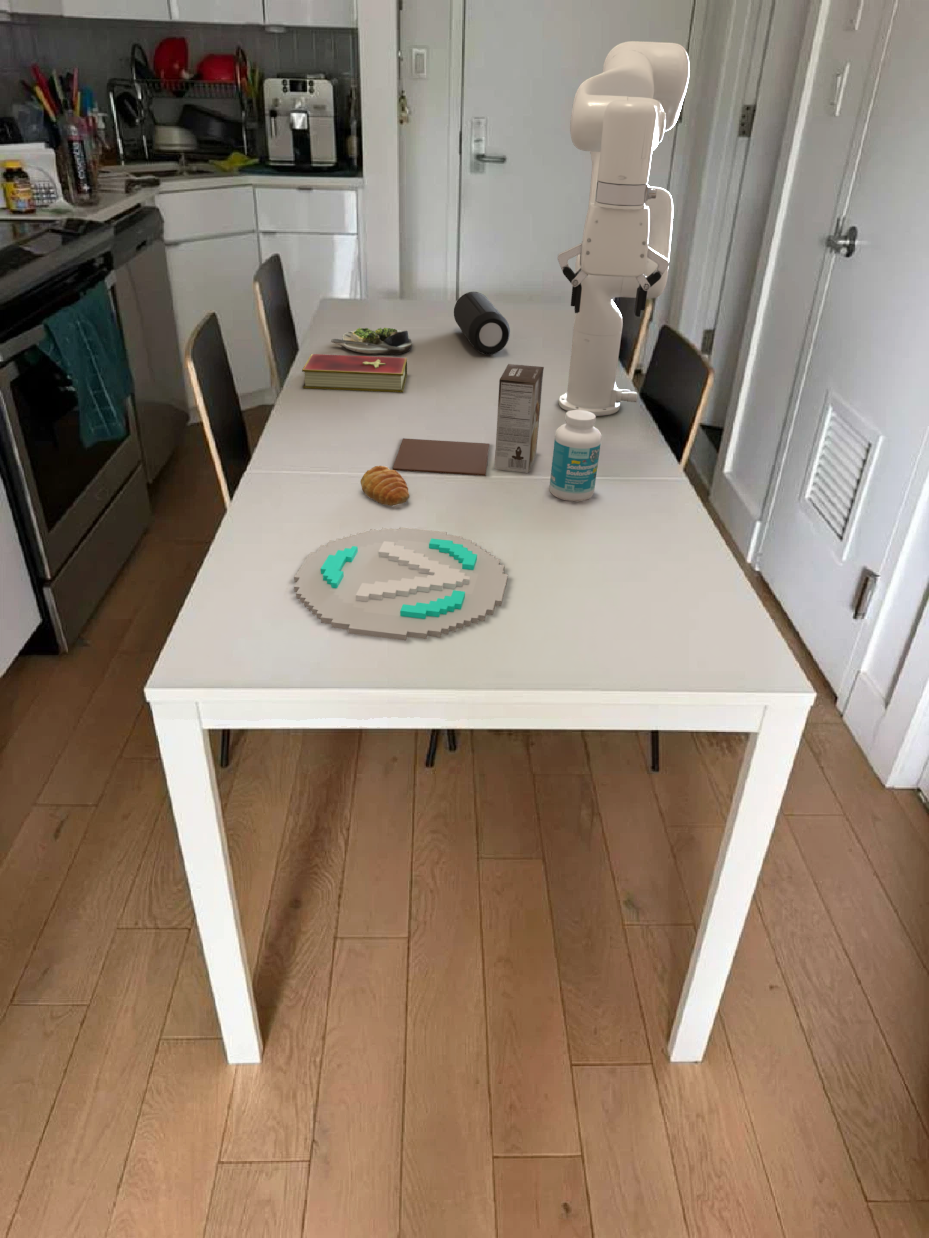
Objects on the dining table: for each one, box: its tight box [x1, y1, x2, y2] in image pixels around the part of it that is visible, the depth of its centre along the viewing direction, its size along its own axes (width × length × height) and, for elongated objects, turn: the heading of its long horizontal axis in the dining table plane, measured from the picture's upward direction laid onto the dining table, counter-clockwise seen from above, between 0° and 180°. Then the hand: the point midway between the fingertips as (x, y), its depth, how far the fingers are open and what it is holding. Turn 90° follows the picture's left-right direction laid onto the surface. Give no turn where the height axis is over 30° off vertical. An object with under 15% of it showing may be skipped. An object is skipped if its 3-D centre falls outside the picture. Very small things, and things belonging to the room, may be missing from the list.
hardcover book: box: [301, 353, 408, 393], centre depth 190 cm, size 12×21×4 cm, turn 89°
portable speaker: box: [453, 291, 511, 356], centre depth 217 cm, size 26×10×10 cm, turn 11°
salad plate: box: [330, 327, 413, 355], centre depth 212 cm, size 19×18×5 cm
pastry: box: [360, 465, 410, 507], centre depth 141 cm, size 9×7×4 cm
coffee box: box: [494, 363, 545, 474], centre depth 152 cm, size 9×6×16 cm
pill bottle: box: [549, 410, 602, 502], centre depth 142 cm, size 8×7×14 cm
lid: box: [293, 526, 509, 641], centre depth 119 cm, size 28×28×2 cm
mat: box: [391, 437, 490, 477], centre depth 157 cm, size 16×14×1 cm
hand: (606, 313), depth 142 cm, fingers open, 9 cm apart
